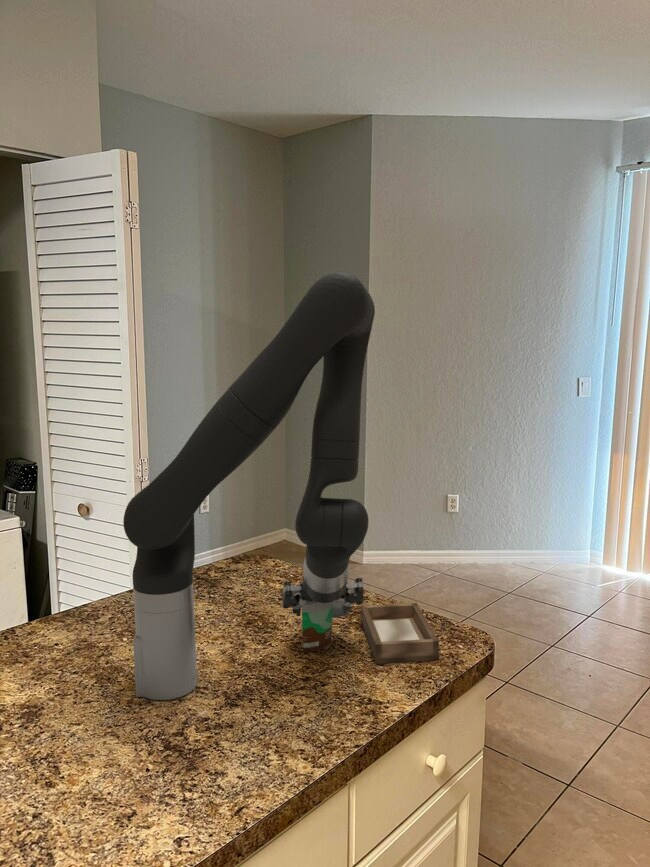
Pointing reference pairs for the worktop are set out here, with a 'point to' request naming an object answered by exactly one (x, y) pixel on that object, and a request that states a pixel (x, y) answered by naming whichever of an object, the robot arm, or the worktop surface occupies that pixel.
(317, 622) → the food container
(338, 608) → the grey domed puck
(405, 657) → the tray
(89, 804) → the worktop surface
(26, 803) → the worktop surface
